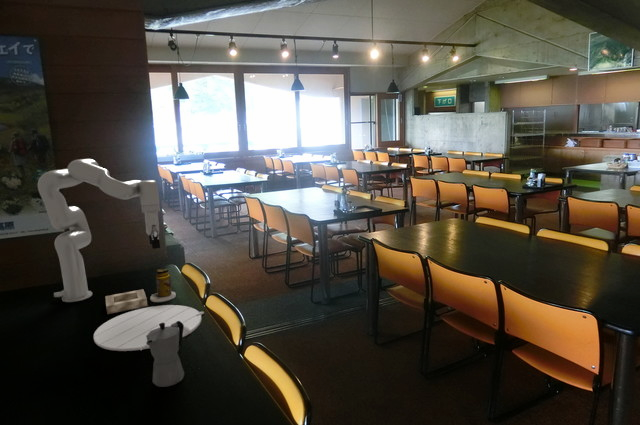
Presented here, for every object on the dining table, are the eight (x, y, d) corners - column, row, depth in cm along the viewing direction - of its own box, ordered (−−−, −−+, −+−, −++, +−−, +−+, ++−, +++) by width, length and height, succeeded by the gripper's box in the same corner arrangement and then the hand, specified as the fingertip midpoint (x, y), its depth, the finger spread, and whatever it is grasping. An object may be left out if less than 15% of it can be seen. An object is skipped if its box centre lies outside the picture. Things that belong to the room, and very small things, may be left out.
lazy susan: (223, 314, 185) (222, 306, 184) (151, 360, 150) (150, 350, 150) (150, 303, 202) (149, 295, 201) (70, 341, 167) (68, 333, 166)
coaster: (152, 304, 200) (151, 301, 200) (149, 296, 209) (148, 294, 209) (177, 298, 204) (177, 296, 204) (173, 291, 214) (173, 289, 214)
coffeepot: (166, 393, 129) (159, 334, 126) (140, 388, 133) (133, 330, 130) (199, 366, 144) (193, 313, 140) (175, 362, 147) (169, 310, 144)
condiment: (174, 295, 206) (171, 270, 204) (155, 299, 202) (151, 274, 200) (170, 291, 212) (167, 266, 210) (151, 295, 208) (148, 270, 206)
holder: (107, 314, 191) (106, 306, 190) (106, 303, 203) (105, 296, 202) (147, 306, 198) (146, 298, 197) (144, 296, 210) (143, 289, 209)
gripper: (140, 206, 206) (144, 243, 209) (143, 212, 191) (148, 251, 194) (157, 204, 209) (161, 240, 212) (162, 210, 194) (166, 248, 197)
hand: (155, 245), depth 203 cm, fingers open, 9 cm apart
